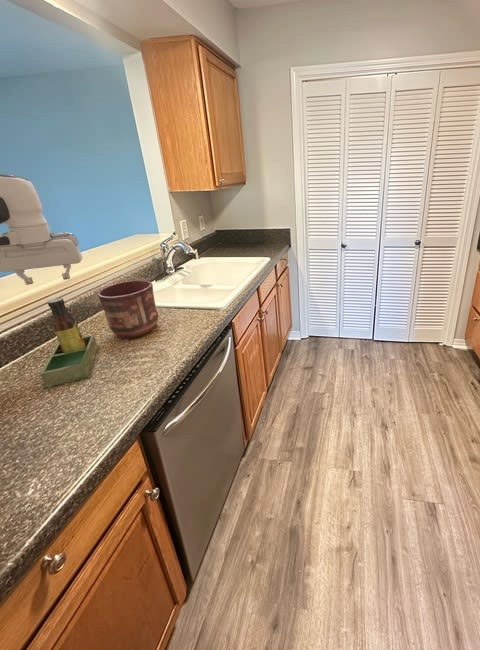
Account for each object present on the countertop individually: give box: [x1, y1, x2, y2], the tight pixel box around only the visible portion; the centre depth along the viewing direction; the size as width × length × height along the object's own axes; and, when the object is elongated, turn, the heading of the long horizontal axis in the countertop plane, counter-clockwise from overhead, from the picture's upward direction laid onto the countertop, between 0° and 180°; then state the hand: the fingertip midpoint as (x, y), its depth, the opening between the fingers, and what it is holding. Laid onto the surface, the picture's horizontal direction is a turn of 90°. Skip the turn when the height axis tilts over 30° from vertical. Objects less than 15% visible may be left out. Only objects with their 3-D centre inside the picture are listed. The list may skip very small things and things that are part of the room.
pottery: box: [97, 279, 160, 340], centre depth 120 cm, size 18×18×18 cm
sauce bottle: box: [47, 297, 86, 353], centre depth 104 cm, size 6×6×20 cm
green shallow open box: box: [40, 334, 99, 388], centre depth 103 cm, size 11×20×5 cm, turn 23°
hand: (48, 281), depth 97 cm, fingers open, 8 cm apart
